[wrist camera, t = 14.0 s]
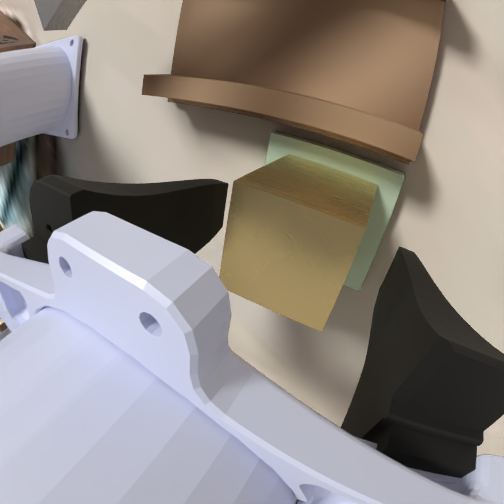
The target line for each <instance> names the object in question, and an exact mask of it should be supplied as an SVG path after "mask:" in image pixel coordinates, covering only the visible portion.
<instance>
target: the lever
mask: <svg viewBox="0 0 504 504" xmlns="http://www.w3.org/2000/svg"><path fill="white" fill-rule="evenodd" d="M34 1H35V4H36V8H37V11H38V14H39V17H40V20H41V23H42V26H43V29H44V31H47V30H67V28H68V27H69V25H70V24H71V22H72V21H73V19H74V18H75V16H76V15H77V13H78V12H79V10H80V9H81V7H82V6H83V5H84V3H85V2H86V0H34Z"/></svg>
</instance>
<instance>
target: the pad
mask: <svg viewBox="0 0 504 504" xmlns="http://www.w3.org/2000/svg"><path fill="white" fill-rule="evenodd" d="M288 154H292V155H295V156H298V157H301V158H304V159H307V160H311V161H314V162H317V163H320V164H323V165H326V166H329V167H331V168H334V169H337V170H340V171H343V172H346V173H349V174H351V175H354V176H357V177H359V178H362V179H365V180H367V181H370V182H373V183H375V184H378V185H377V189H376V193H375V197H374V201H373V204H372V208H371V212H370V215H369V219H368V222H367V226H366V229H365V232H364V235H363V237H362V240H361V242H360V245H359V247H358V250H357V252H356V255H355V257H354V260H353V262H352V265H351V267H350V269H349V272H348V274H347V277H346V279H345V281H344V284H343V285H344V286H347V287H349V288H352V289H354V290H357V291H359V290H360V288H361V286H362V284H363V282H364V280H365V277H366V275H367V273H368V271H369V268H370V266H371V264H372V261H373V259H374V257H375V254H376V252H377V249H378V247H379V245H380V242H381V240H382V237H383V235H384V232H385V230H386V227H387V225H388V222H389V219H390V217H391V214H392V211H393V209H394V206H395V203H396V201H397V198H398V195H399V192H400V189H401V187H402V184H403V181H404V178H405V173H403V172H400V171H397V170H395V169H392V168H390V167H387V166H384V165H382V164H379V163H376V162H374V161H371V160H368V159H365V158H362V157H360V156H357V155H354V154H351V153H348V152H345V151H342V150H339V149H336V148H333V147H329V146H326V145H323V144H320V143H316V142H313V141H310V140H306V139H303V138H299V137H296V136H292V135H289V134H285V133H281V132H277V131H274V132H271V134H270V140H269V145H268V150H267V155H266V161H265V165H267V164H269V163H271V162H273V161H275V160H277V159H279V158H281V157H284V156H286V155H288Z"/></svg>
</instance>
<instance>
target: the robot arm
mask: <svg viewBox="0 0 504 504" xmlns="http://www.w3.org/2000/svg"><path fill="white" fill-rule="evenodd" d="M82 46H83V37H82V36H73V37H69V38H65V39H61V40H58V41H54V42H51V43H47V44H44V45H40V46H37V47H34V48H29V49H21V50H14V51H8V52H2V53H0V147H1V146H4V145H7V144H10V143H13V142H16V141H19V140H22V139H25V138H28V137H31V136H35V135H38V134H41V133H45V134H49V135H54V136H58V137H63V138H67V139H74V138H76V137H77V133H78V92H79V76H80V65H81V55H82ZM227 190H228V183H225V182H222V181H219V180H215V179H195V180H184V181H173V182H161V183H146V184H121V183H103V182H93V181H86V180H79V179H74V178H69V177H64V176H59V175H48V176H46V177H44V178H41V179H39V180H36V181H34V183H33V185H32V187H31V190H30V208H31V213H32V219H33V224H34V229H35V234H36V236H34V237H32V238H29V236H28V234H27V233H26V232H25V231H24V230H23V229H21V228H20V227H19V226H18V225H16V224H14V225H12V226H11V227H9V228H7V229H5V230H3V231H1V232H0V317H1V318H2V320H3V321H4V322H5V324H6V325H7V327H8V328H9V329H10V331H11V333H10V334H8V335H7V336H6V337H5V338H3V339H2V340H1V341H0V504H504V457H502V456H496V455H491V454H482V455H478V456H476V455H477V446H479V445H481V444H482V442H483V431H484V430H486V429H487V428H488V427H489V426H491V425H492V424H493V423H494V422H495V421H496V420H498V419H499V418H500V417H501V416H502V415H503V414H504V354H503V353H502V352H500V351H499V350H498V349H496V348H495V347H493V346H492V345H491V344H490V343H489V342H487V341H486V340H485V339H484V338H483V337H481V336H480V335H479V334H478V333H477V332H476V331H475V330H474V329H473V328H472V327H471V326H470V325H469V324H468V323H467V322H466V321H465V320H464V319H463V318H462V317H461V316H460V315H459V314H458V313H457V312H456V310H455V309H454V308H453V307H452V306H451V304H450V303H449V302H448V301H447V300H446V298H445V297H444V296H443V294H442V293H441V291H440V290H439V289H438V287H437V286H436V284H435V283H434V281H433V280H432V278H431V277H430V275H429V274H428V272H427V270H426V269H425V267H424V266H423V264H422V263H421V261H420V260H419V258H418V257H417V255H416V254H415V253H414V252H412V251H410V250H407V249H405V248H402V247H400V246H399V249H398V251H397V253H396V255H395V257H394V260H393V262H392V264H391V266H390V268H389V271H388V273H387V275H386V277H385V279H384V281H383V283H382V285H381V287H380V289H379V293H378V296H377V300H376V304H375V307H374V312H373V319H372V326H371V332H370V339H369V345H368V350H367V356H366V360H365V364H364V367H363V370H362V374H361V377H360V380H359V383H358V385H357V388H356V391H355V394H354V396H353V399H352V402H351V404H350V407H349V409H348V412H347V414H346V416H345V419H344V421H343V424H342V426H341V428H340V427H339V426H337V425H336V424H334V423H332V422H331V421H329V420H328V419H326V418H325V417H323V416H322V415H320V414H319V413H317V412H316V411H314V410H313V409H311V408H310V407H308V406H307V405H305V404H304V403H303V402H301V401H300V400H298V399H297V398H295V397H294V396H292V395H291V394H290V393H288V392H287V391H285V390H284V389H283V388H281V387H280V386H278V385H277V384H276V383H274V382H273V381H272V380H270V379H269V378H267V377H266V376H265V375H263V374H262V373H261V372H259V371H258V370H257V369H255V368H254V367H253V366H251V365H250V364H249V363H247V362H246V361H245V360H244V359H242V358H241V357H240V356H238V355H237V354H236V353H234V352H233V351H232V350H231V348H230V347H229V345H228V332H229V326H230V320H231V309H230V301H229V294H228V291H227V289H226V288H225V286H224V284H223V283H222V281H221V280H220V278H219V277H218V275H217V274H216V272H215V271H214V269H213V268H212V266H210V265H209V264H208V263H206V262H205V261H203V260H202V259H201V258H199V257H198V256H197V255H195V253H197V252H198V251H199V250H200V249H201V248H203V247H204V246H205V245H206V244H207V243H208V242H210V240H211V239H212V238H213V237H214V236H215V235H216V234H217V233H218V231H219V230H220V229H221V228H222V226H223V219H224V211H225V204H226V197H227Z"/></svg>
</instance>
